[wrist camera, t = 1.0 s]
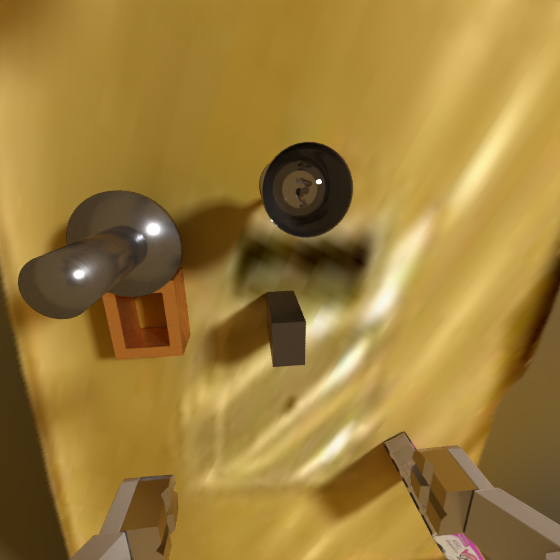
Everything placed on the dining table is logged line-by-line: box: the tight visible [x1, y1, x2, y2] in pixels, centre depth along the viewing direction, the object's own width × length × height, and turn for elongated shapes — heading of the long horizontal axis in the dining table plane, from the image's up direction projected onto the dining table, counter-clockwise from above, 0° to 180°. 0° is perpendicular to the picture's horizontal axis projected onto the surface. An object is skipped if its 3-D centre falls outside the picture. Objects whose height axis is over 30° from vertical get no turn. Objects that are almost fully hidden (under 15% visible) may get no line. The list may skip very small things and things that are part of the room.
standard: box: [18, 190, 190, 360], centre depth 32 cm, size 21×12×20 cm, turn 1°
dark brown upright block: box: [267, 291, 306, 367], centre depth 41 cm, size 6×4×10 cm, turn 1°
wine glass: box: [260, 142, 353, 238], centre depth 33 cm, size 8×8×15 cm
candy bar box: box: [383, 432, 485, 560], centre depth 51 cm, size 11×5×16 cm, turn 32°
